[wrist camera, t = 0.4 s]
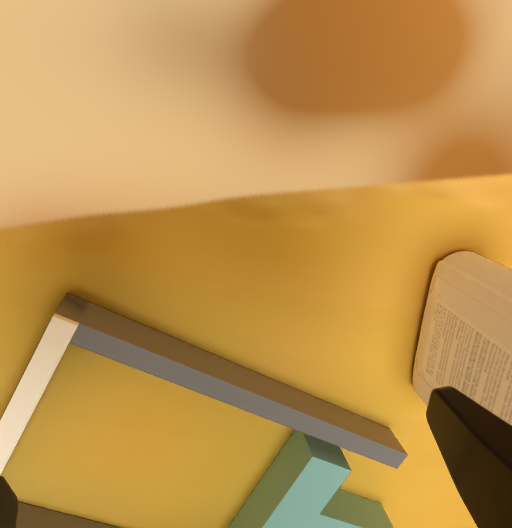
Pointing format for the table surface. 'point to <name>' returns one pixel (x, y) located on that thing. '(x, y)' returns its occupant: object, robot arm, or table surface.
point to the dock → (181, 373)
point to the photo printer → (468, 333)
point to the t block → (308, 491)
